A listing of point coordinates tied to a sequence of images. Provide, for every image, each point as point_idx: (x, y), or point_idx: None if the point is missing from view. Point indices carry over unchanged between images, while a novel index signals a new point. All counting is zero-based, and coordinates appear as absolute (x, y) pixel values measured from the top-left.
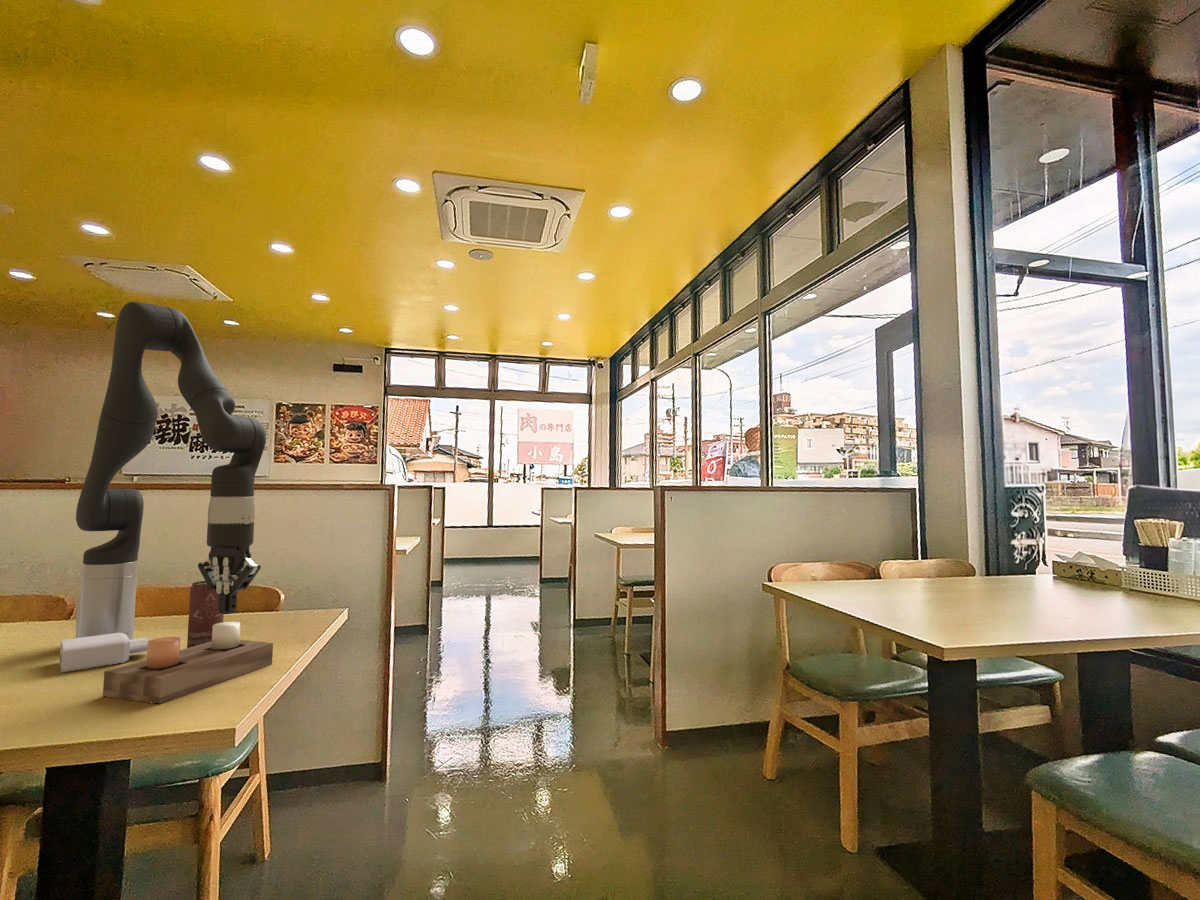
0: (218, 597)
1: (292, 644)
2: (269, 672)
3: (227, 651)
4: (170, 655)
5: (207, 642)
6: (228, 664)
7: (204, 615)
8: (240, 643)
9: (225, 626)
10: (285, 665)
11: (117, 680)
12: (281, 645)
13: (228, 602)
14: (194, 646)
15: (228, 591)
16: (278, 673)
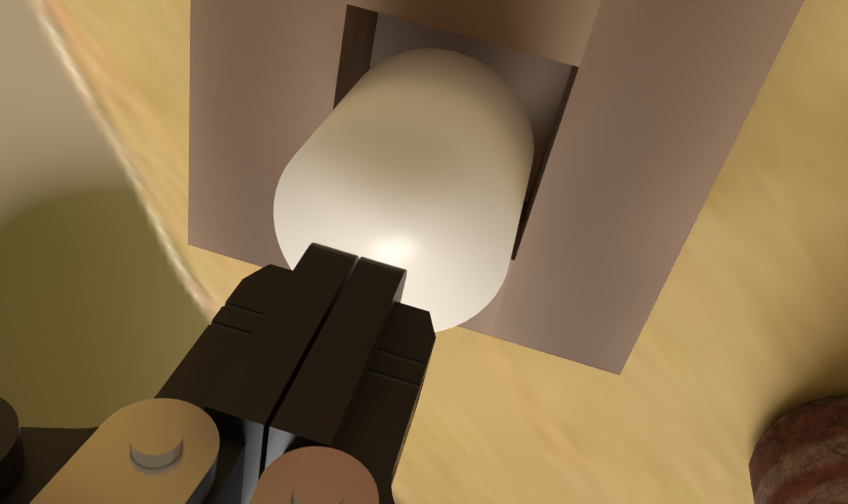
0: (399, 438)
1: (397, 494)
2: (145, 21)
3: (326, 11)
4: None
5: (809, 449)
6: None
7: None
8: None
9: (331, 149)
10: (163, 156)
11: None
12: (441, 486)
13: (233, 335)
14: (717, 161)
15: (108, 424)
16: (80, 3)
